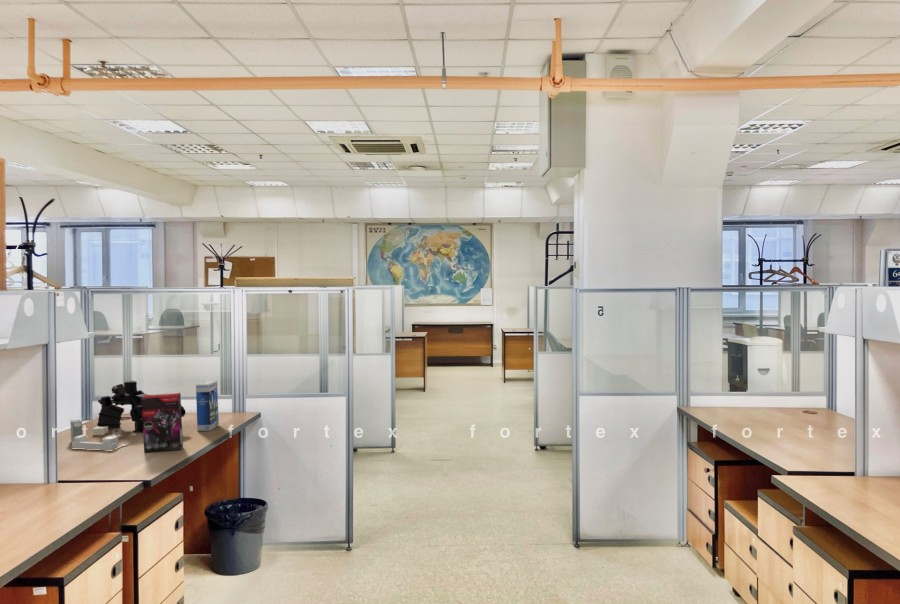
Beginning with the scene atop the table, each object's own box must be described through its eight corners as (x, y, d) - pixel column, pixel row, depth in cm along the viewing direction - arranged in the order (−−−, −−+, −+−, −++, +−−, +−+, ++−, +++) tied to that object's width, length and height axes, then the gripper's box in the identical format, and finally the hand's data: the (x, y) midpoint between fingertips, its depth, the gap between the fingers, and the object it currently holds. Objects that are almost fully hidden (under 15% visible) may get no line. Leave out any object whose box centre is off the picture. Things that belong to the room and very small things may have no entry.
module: (80, 440, 322) (79, 419, 322) (82, 442, 318) (81, 421, 318) (71, 441, 319) (70, 420, 319) (73, 443, 315) (72, 422, 315)
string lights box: (210, 431, 338) (208, 384, 336) (196, 431, 337) (194, 384, 336) (219, 425, 351) (217, 380, 350) (205, 425, 351) (204, 380, 350)
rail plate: (89, 442, 317) (88, 432, 316) (128, 445, 311) (128, 434, 311) (69, 449, 305) (69, 438, 305) (110, 451, 300) (110, 440, 299)
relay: (108, 433, 336) (108, 426, 336) (103, 435, 331) (103, 428, 331) (97, 433, 336) (97, 426, 336) (92, 436, 331) (92, 428, 331)
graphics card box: (142, 453, 296) (140, 397, 295) (145, 449, 303) (143, 394, 301) (181, 450, 300) (179, 395, 299) (183, 446, 307) (181, 392, 306)
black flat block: (92, 426, 346) (104, 401, 348) (116, 434, 350) (128, 409, 351) (91, 427, 343) (103, 402, 344) (115, 435, 346) (127, 411, 348)
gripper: (138, 382, 351) (117, 382, 356) (111, 388, 333) (89, 388, 338) (140, 401, 352) (118, 401, 356) (113, 408, 334) (91, 408, 338)
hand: (104, 399), depth 347 cm, fingers open, 9 cm apart
